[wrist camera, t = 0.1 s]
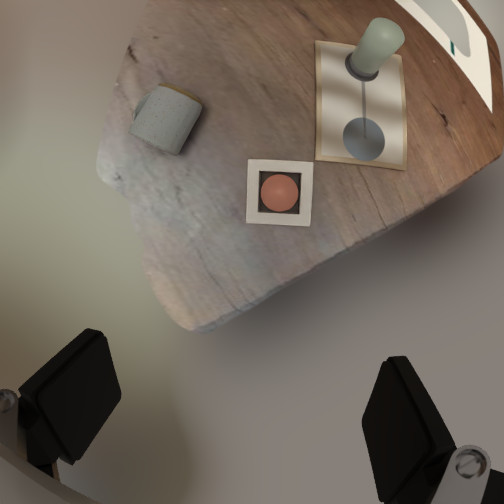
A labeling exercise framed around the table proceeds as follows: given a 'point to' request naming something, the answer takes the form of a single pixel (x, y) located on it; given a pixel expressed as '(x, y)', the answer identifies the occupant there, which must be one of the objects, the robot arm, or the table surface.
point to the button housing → (279, 216)
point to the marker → (375, 47)
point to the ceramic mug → (166, 117)
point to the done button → (279, 192)
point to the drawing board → (359, 111)
